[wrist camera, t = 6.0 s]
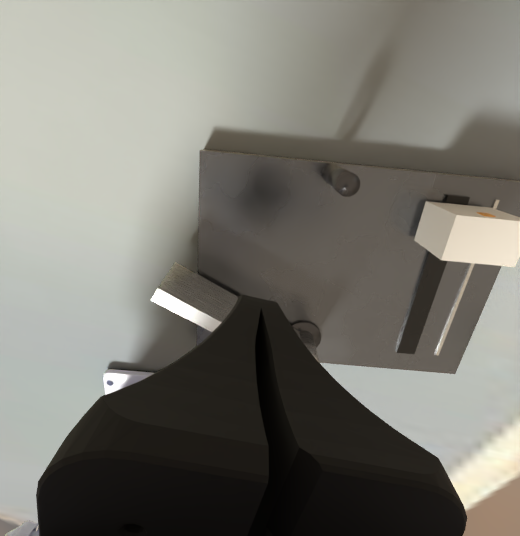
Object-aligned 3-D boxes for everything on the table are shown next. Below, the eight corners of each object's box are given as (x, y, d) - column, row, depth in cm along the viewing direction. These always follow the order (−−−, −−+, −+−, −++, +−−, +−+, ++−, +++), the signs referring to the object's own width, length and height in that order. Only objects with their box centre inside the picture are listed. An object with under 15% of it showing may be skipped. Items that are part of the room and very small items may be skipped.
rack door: (318, 336, 21) (327, 373, 18) (305, 351, 21) (312, 389, 18) (177, 257, 19) (160, 283, 16) (167, 276, 19) (148, 304, 16)
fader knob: (476, 246, 18) (514, 268, 15) (413, 241, 18) (440, 261, 15) (491, 206, 17) (535, 221, 14) (426, 200, 17) (456, 214, 14)
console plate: (446, 362, 23) (498, 429, 18) (199, 341, 23) (180, 404, 18) (520, 180, 18) (623, 201, 13) (203, 149, 18) (178, 157, 12)
